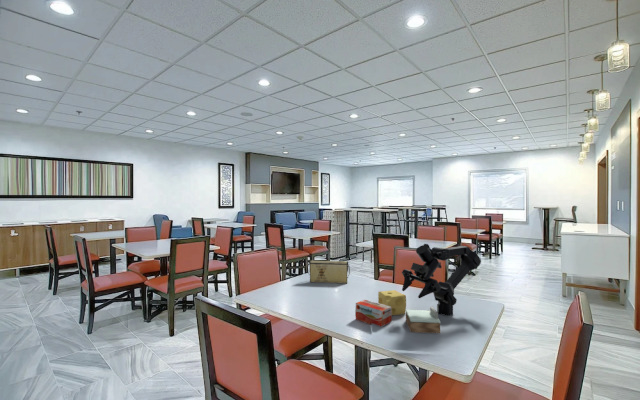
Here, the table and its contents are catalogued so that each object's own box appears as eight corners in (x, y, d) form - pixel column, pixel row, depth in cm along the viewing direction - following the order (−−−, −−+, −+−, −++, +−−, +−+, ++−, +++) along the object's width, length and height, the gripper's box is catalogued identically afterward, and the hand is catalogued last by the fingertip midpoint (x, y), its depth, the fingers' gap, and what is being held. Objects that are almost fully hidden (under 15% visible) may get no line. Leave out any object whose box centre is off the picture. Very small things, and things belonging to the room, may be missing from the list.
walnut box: (432, 323, 139) (432, 313, 139) (440, 335, 127) (440, 323, 127) (405, 322, 140) (405, 312, 140) (410, 333, 128) (410, 322, 128)
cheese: (387, 317, 146) (387, 297, 146) (377, 310, 156) (377, 290, 156) (406, 315, 149) (406, 295, 149) (395, 308, 159) (395, 289, 159)
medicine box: (391, 323, 139) (391, 306, 139) (382, 329, 133) (382, 310, 134) (364, 315, 150) (364, 298, 150) (354, 319, 144) (354, 302, 144)
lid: (432, 312, 139) (432, 305, 139) (440, 322, 127) (440, 315, 127) (405, 311, 140) (405, 304, 140) (410, 321, 128) (410, 314, 128)
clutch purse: (350, 281, 213) (350, 259, 213) (349, 284, 206) (349, 261, 206) (308, 280, 216) (308, 258, 217) (306, 282, 210) (306, 260, 210)
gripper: (406, 252, 149) (387, 276, 143) (439, 262, 133) (420, 289, 127) (415, 267, 153) (397, 291, 147) (448, 278, 138) (430, 305, 132)
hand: (410, 294), depth 138 cm, fingers open, 9 cm apart
